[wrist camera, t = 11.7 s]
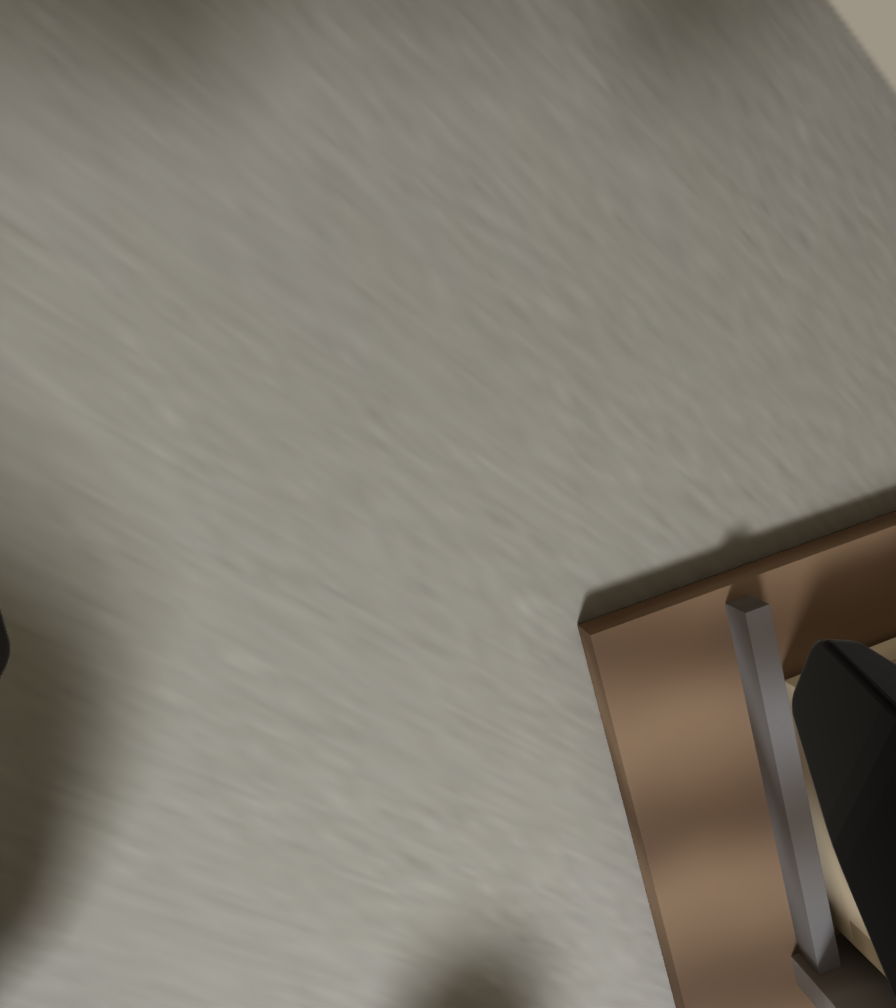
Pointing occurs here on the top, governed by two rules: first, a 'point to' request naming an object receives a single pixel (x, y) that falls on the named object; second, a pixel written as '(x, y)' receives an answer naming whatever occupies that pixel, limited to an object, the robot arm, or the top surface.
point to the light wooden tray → (835, 882)
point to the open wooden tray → (739, 768)
